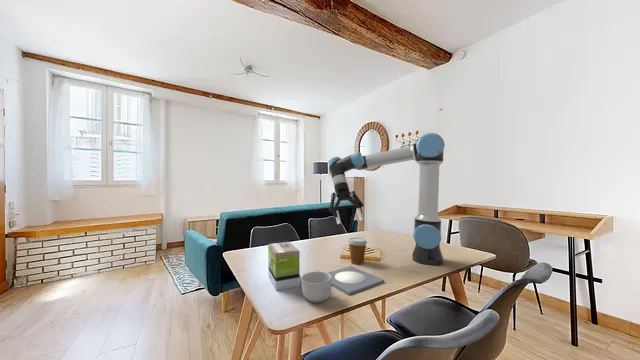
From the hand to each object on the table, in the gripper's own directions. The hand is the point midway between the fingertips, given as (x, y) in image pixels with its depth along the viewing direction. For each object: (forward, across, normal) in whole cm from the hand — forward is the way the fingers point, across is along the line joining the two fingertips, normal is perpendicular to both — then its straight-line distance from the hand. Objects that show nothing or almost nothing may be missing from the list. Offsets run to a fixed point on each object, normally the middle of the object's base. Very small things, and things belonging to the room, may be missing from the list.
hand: (350, 221), depth 126 cm
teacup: (+28, +32, +17) cm, 46 cm away
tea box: (+21, +40, 0) cm, 45 cm away
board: (+26, +14, +10) cm, 31 cm away
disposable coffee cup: (+20, -2, -7) cm, 21 cm away
